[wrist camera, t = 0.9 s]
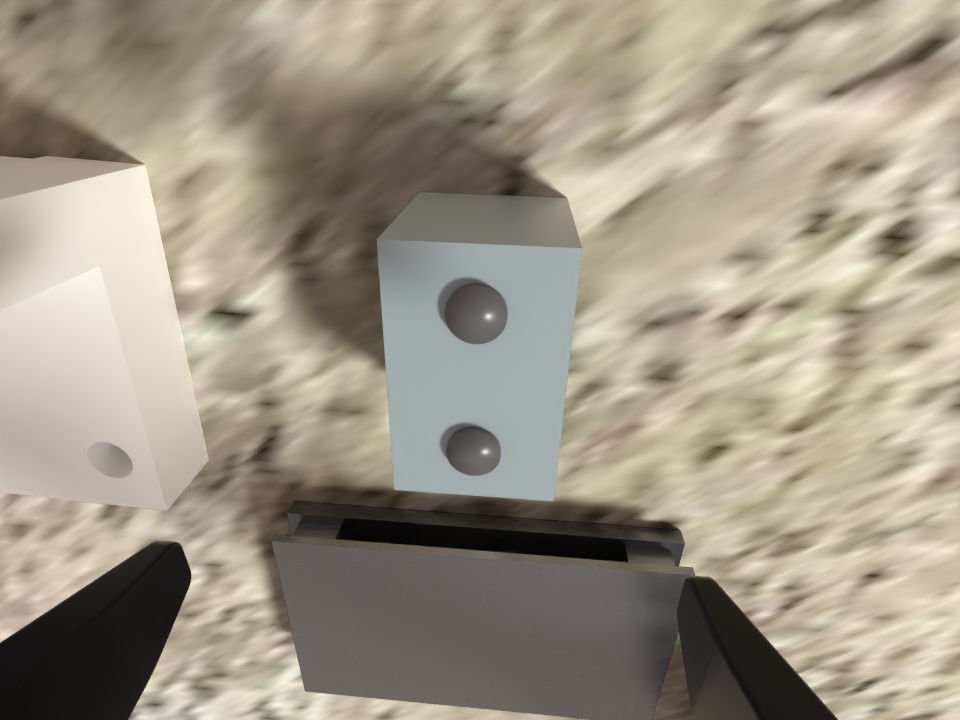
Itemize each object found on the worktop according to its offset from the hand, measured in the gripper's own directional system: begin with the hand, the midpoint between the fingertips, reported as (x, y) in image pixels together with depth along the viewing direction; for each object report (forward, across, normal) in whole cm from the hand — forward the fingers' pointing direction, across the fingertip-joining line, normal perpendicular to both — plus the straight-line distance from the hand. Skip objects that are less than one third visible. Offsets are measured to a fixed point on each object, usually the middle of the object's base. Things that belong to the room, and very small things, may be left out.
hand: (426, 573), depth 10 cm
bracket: (+13, +16, +2) cm, 20 cm away
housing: (+12, 0, 0) cm, 12 cm away
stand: (+12, 0, +16) cm, 20 cm away
